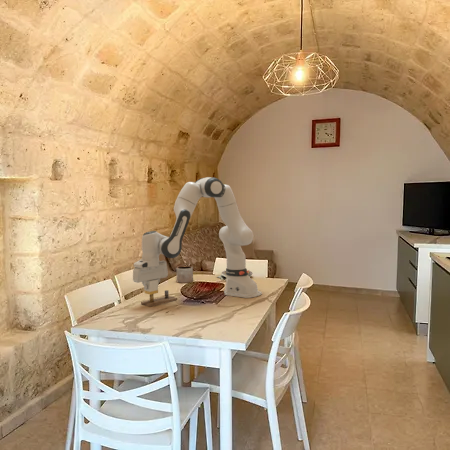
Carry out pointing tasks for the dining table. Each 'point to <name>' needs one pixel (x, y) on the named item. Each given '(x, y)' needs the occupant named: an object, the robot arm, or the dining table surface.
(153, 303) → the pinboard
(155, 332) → the dining table surface
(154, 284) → the sleeve
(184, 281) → the planter
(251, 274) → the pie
